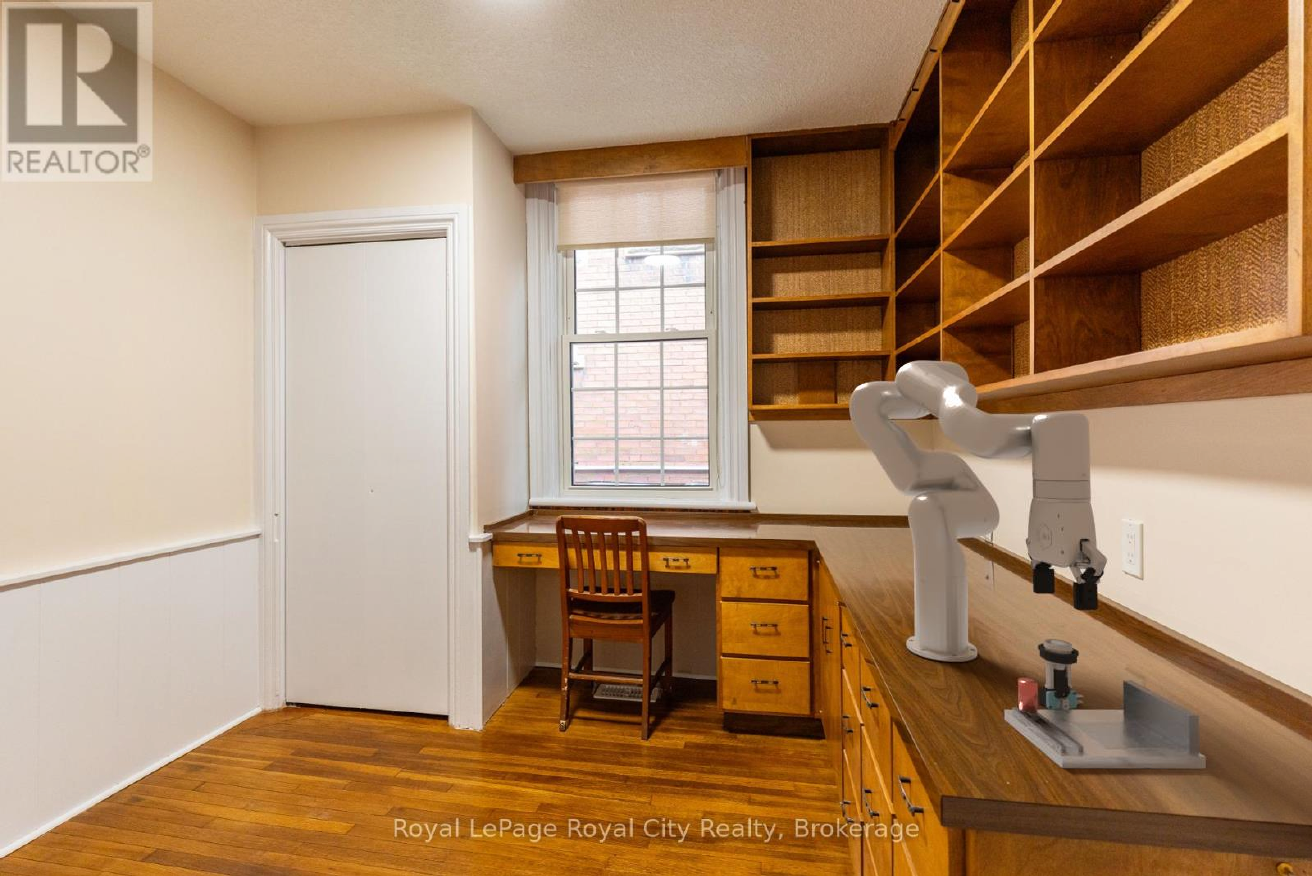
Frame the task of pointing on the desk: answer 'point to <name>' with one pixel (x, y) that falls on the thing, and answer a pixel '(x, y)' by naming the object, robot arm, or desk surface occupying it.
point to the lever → (1028, 697)
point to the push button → (1058, 675)
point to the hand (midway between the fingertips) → (1063, 600)
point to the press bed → (1117, 733)
